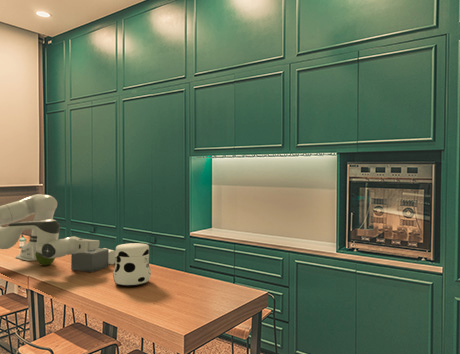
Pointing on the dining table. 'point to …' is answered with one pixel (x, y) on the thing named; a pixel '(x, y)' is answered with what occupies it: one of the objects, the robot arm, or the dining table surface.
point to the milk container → (132, 264)
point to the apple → (44, 260)
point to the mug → (111, 256)
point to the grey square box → (90, 260)
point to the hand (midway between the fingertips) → (91, 240)
